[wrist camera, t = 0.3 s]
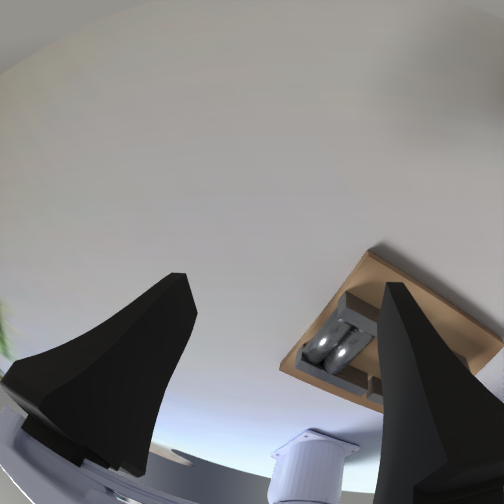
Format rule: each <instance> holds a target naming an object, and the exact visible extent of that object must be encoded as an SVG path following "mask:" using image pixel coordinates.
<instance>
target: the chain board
mask: <svg viewBox="0 0 504 504" xmlns="http://www.w3.org/2000/svg"><path fill="white" fill-rule="evenodd" d="M386 282H403V283H404V284H405V286H406V287H407V289H408V290H409V291H410V293H411V294H412V296H413V298H414V299H415V301H416V302H417V304H418V305H419V306H420V308H421V309H422V311H423V312H424V314H425V315H426V317H427V318H428V320H429V321H430V322H431V324H432V325H433V327H434V328H435V330H436V331H437V332H438V334H439V335H440V336H441V338H442V339H443V340H444V342H445V343H446V344H447V345H448V347H449V348H450V349H451V350H453V351H455V352H456V353H458V354H460V355H462V356H463V357H465V358H466V360H467V362H468V365H469V368H470V371H471V373H472V374H473V375H474V376H475V375H476V374H477V373H478V372H479V371H480V370H481V369H482V368H483V367H484V366H485V365H486V364H487V363H488V362H489V361H490V360H491V359H492V358H493V357H494V356H495V355H496V354H497V353H498V352H499V351H500V350H501V349H502V348H503V347H504V342H503V340H502V339H501V338H500V337H499V336H497V335H496V334H495V333H493V332H492V331H491V330H489V329H488V328H486V327H485V326H484V325H482V324H481V323H479V322H478V321H476V320H475V319H474V318H472V317H471V316H469V315H468V314H466V313H465V312H464V311H462V310H461V309H459V308H458V307H456V306H455V305H453V304H452V303H450V302H449V301H447V300H446V299H444V298H443V297H441V296H440V295H438V294H437V293H435V292H434V291H432V290H431V289H429V288H428V287H426V286H425V285H423V284H422V283H420V282H418V281H417V280H415V279H414V278H412V277H411V276H409V275H407V274H406V273H404V272H403V271H401V270H400V269H398V268H396V267H395V266H393V265H391V264H390V263H388V262H387V261H385V260H383V259H382V258H380V257H378V256H377V255H375V254H373V253H372V252H370V251H368V250H367V251H366V253H365V254H364V256H363V257H362V258H361V260H360V261H359V263H358V264H357V265H356V267H355V268H354V270H353V271H352V272H351V274H350V275H349V277H348V278H347V279H346V281H345V282H344V283H343V285H342V286H341V288H340V289H339V290H338V292H337V293H336V294H335V296H334V297H333V298H332V300H331V301H330V302H329V303H328V305H327V306H326V307H325V309H324V310H323V311H322V313H321V314H320V315H319V316H318V318H317V319H316V320H315V321H314V323H313V324H312V325H311V326H310V328H309V329H308V330H307V331H306V333H305V334H304V335H303V336H302V338H301V339H300V340H299V341H298V343H297V344H296V345H295V346H294V347H293V349H292V350H291V351H290V352H289V353H288V355H287V356H286V357H285V358H284V359H283V360H282V362H281V364H280V368H279V370H280V371H282V372H284V373H286V374H288V375H291V376H293V377H295V378H297V379H299V380H302V381H304V382H306V383H308V384H311V385H313V386H315V387H318V388H320V389H322V390H325V391H327V392H329V393H332V394H334V395H336V396H339V397H341V398H344V399H346V400H349V401H351V402H354V403H356V404H359V405H361V406H364V407H367V408H369V409H372V410H375V411H377V412H380V413H383V414H384V408H383V405H380V404H378V403H375V402H373V401H370V400H368V399H366V393H365V394H364V395H362V396H361V397H360V396H358V395H355V394H353V393H350V392H348V391H345V390H343V389H341V388H338V387H336V386H334V385H331V384H329V383H327V382H324V381H322V380H320V379H318V378H315V377H313V376H311V375H309V374H307V373H304V372H302V371H300V370H298V369H296V368H294V365H295V360H296V355H297V350H298V349H299V348H300V347H301V346H302V344H303V343H304V344H306V345H307V343H308V342H309V341H310V340H311V339H312V337H313V336H314V335H315V334H316V333H317V331H318V330H319V329H320V328H321V327H322V325H323V324H324V323H325V322H326V321H327V319H328V318H329V317H330V316H331V314H332V313H333V312H334V311H335V309H336V308H337V307H338V300H339V298H340V297H341V296H342V294H343V293H344V292H345V290H346V291H347V292H349V293H351V294H353V295H355V296H356V297H358V298H360V299H362V300H364V301H365V302H367V303H369V304H371V305H373V306H375V307H376V308H378V309H381V305H382V300H383V295H384V290H385V285H386ZM349 365H351V366H353V367H355V368H357V369H359V370H361V371H364V372H366V373H368V380H369V379H370V378H371V377H372V376H375V377H377V378H379V379H381V374H380V365H379V357H378V343H377V337H375V338H374V339H373V340H372V341H371V342H370V343H369V344H368V345H367V346H366V347H365V348H364V349H363V350H362V351H361V353H360V354H359V355H358V356H357V357H356V358H355V359H354V360H353V361H352V362H351V363H350V364H349Z"/></svg>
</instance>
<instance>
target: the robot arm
mask: <svg viewBox="0 0 504 504" xmlns="http://www.w3.org/2000/svg"><path fill="white" fill-rule="evenodd" d="M197 314H198V312H197V309H196V306H195V302H194V299H193V296H192V292H191V289H190V286H189V282H188V279H187V275H186V273H171V274H169V275H167V276H166V277H165V278H163V279H162V280H160V281H159V282H158V283H156V284H155V285H154V286H152V287H151V288H150V289H149V290H147V291H146V292H145V293H143V294H142V295H141V296H139V297H138V298H137V299H135V300H134V301H133V302H132V303H130V304H129V305H127V306H126V307H125V308H123V309H122V310H120V311H119V312H118V313H116V314H115V315H113V316H112V317H111V318H109V319H108V320H106V321H105V322H103V323H101V324H100V325H98V326H97V327H95V328H93V329H92V330H90V331H88V332H86V333H85V334H83V335H81V336H79V337H77V338H75V339H73V340H71V341H69V342H67V343H65V344H63V345H60V346H58V347H56V348H53V349H51V350H48V351H46V352H43V353H40V354H37V355H34V356H31V357H27V358H24V359H21V360H17V361H15V362H14V363H13V364H12V366H11V367H10V368H9V370H8V371H7V373H6V374H5V375H4V377H3V378H2V380H1V381H0V385H1V387H2V389H3V390H4V391H5V392H6V393H7V394H8V395H9V396H10V397H11V398H12V399H13V400H14V401H15V402H16V403H17V404H18V405H19V406H20V407H21V408H22V409H23V410H24V411H25V412H26V413H27V414H29V415H28V416H27V418H26V419H25V418H24V417H23V416H21V415H20V414H19V413H17V412H16V411H14V410H13V409H12V408H11V407H10V406H8V405H5V407H4V409H3V411H2V412H1V413H0V466H1V468H2V469H3V470H4V471H5V472H6V473H7V475H8V476H9V477H10V478H11V480H12V481H13V482H14V483H15V484H16V485H17V487H18V488H19V489H20V490H21V491H22V492H23V493H24V494H25V496H26V497H27V498H28V499H29V500H30V501H31V502H32V503H33V504H127V503H124V502H122V501H120V500H118V499H117V498H116V496H115V493H114V491H116V492H118V493H120V494H122V495H124V496H126V497H128V498H131V499H133V500H135V501H138V502H140V503H142V504H198V503H195V502H191V501H188V500H185V499H181V498H178V497H175V496H172V495H169V494H166V493H163V492H160V491H158V490H155V489H152V488H150V487H147V486H144V485H141V484H139V483H137V482H134V481H132V480H129V479H127V478H125V477H123V476H120V475H118V474H116V473H114V472H112V471H109V470H108V468H111V469H113V470H115V471H118V470H120V471H123V472H125V473H127V474H130V475H132V476H135V477H141V476H143V475H145V472H146V465H147V459H148V453H149V448H150V443H151V439H152V435H153V430H154V426H155V423H156V419H157V416H158V412H159V409H160V406H161V402H162V399H163V396H164V393H165V390H166V388H167V385H168V383H169V381H170V378H171V376H172V374H173V372H174V370H175V368H176V366H177V364H178V362H179V359H180V357H181V355H182V353H183V351H184V349H185V347H186V345H187V343H188V340H189V338H190V336H191V333H192V330H193V327H194V324H195V320H196V317H197ZM377 343H378V357H379V365H380V374H381V383H382V393H383V408H384V418H383V436H382V448H381V458H380V466H379V473H378V479H377V485H376V490H375V496H374V500H373V504H504V403H503V402H501V401H500V400H499V399H498V398H497V397H496V396H494V395H493V394H492V393H491V392H490V391H489V390H488V389H487V388H486V387H485V386H484V385H483V384H482V383H481V382H480V381H479V380H478V379H477V378H476V377H475V376H474V375H473V374H472V373H471V372H470V371H469V370H468V369H467V368H466V367H465V366H464V364H463V363H462V362H461V361H460V360H459V359H458V358H457V357H456V355H455V354H454V353H453V352H452V351H451V349H450V348H449V347H448V345H447V344H446V343H445V342H444V340H443V339H442V338H441V336H440V335H439V334H438V332H437V331H436V330H435V328H434V327H433V325H432V324H431V322H430V321H429V320H428V318H427V317H426V315H425V314H424V312H423V311H422V309H421V308H420V306H419V305H418V304H417V302H416V301H415V299H414V298H413V296H412V294H411V293H410V291H409V290H408V289H407V287H406V286H405V284H404V283H403V282H386V285H385V290H384V295H383V300H382V305H381V309H380V314H379V318H378V322H377ZM359 450H360V447H359V446H356V445H353V444H349V443H346V442H343V441H340V440H337V439H334V438H331V437H328V436H325V435H322V434H319V433H316V432H314V431H311V430H307V431H305V432H304V433H302V434H301V435H299V436H298V437H296V438H295V439H293V440H292V441H291V442H289V443H288V444H286V445H285V446H283V447H281V448H280V449H278V450H277V451H275V452H274V453H272V454H271V457H272V458H274V459H276V463H275V467H274V471H273V475H272V478H271V483H270V486H269V490H268V501H269V503H270V504H339V503H340V495H341V487H342V479H343V469H344V459H345V458H347V457H348V456H350V455H352V454H354V453H356V452H357V451H359Z"/></svg>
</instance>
